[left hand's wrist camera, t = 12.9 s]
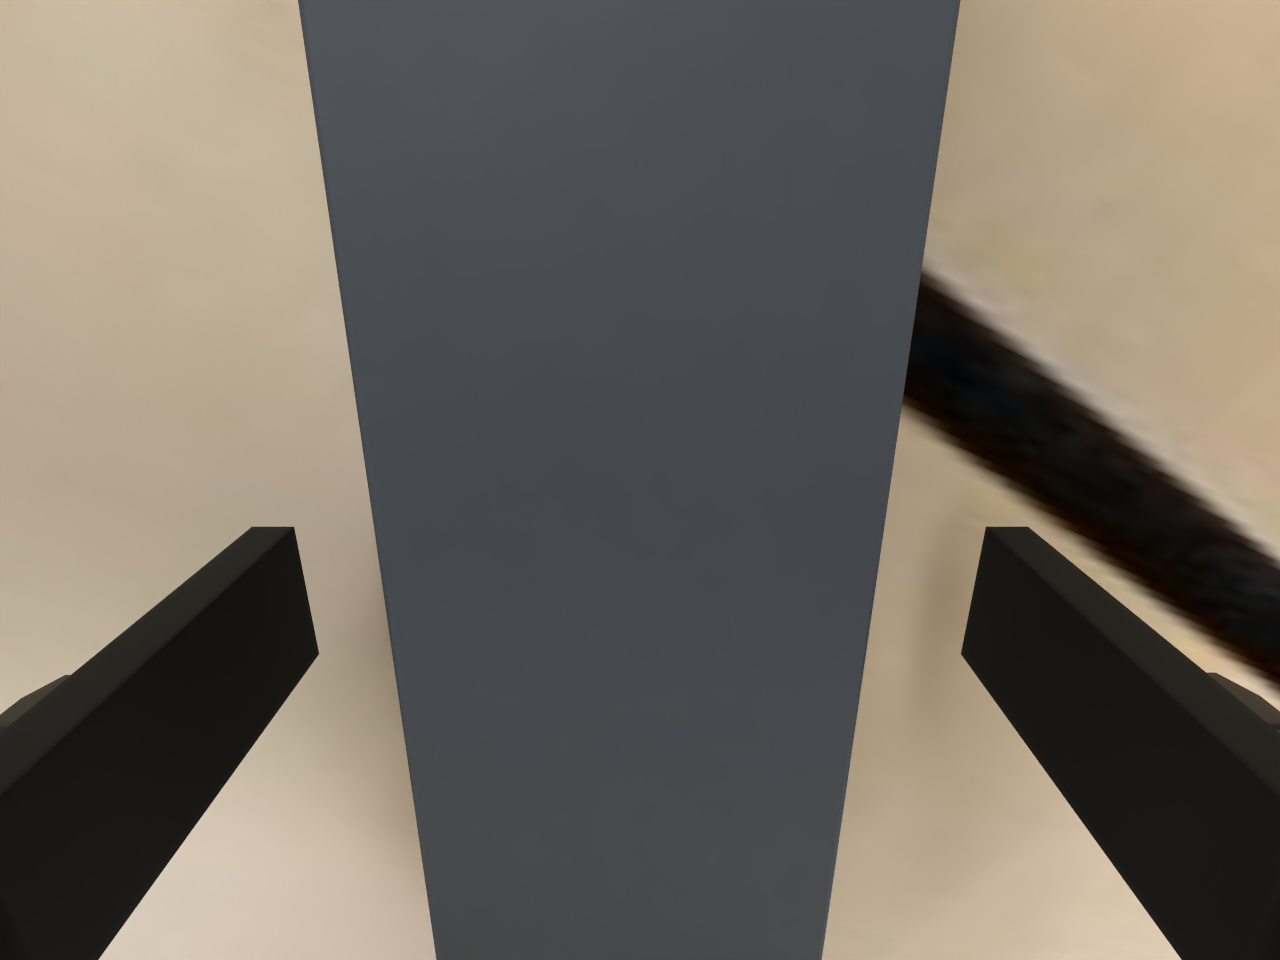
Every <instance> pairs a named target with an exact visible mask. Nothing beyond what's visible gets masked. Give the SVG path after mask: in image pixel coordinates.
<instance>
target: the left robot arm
mask: <svg viewBox="0 0 1280 960" xmlns="http://www.w3.org/2000/svg"><path fill="white" fill-rule="evenodd" d="M318 655H319V652H318V647H317V642H316V636H315V631H314V626H313V621H312V616H311V611H310V606H309V601H308V596H307V591H306V586H305V581H304V575H303V570H302V565H301V560H300V555H299V550H298V545H297V540H296V535H295V530H294V527H251V528H250V529H249V530H248V531H246V532H245V533H244V534H243V535H242V536H240V537H239V538H238V539H237V540H235V541H234V542H233V543H232V544H231V545H229V546H228V547H227V548H226V549H224V550H223V551H222V552H221V553H220V554H218V555H217V556H216V557H215V558H213V559H212V560H211V561H210V562H209V563H207V564H206V565H205V566H204V567H202V568H201V569H200V570H199V571H198V572H196V573H195V574H194V575H193V576H191V577H190V578H189V579H188V580H187V581H185V582H184V583H183V584H182V585H180V586H179V587H178V588H177V589H176V590H174V591H173V592H172V593H171V594H169V595H168V596H167V597H166V598H165V599H163V600H162V601H161V602H160V603H158V604H157V605H156V606H155V607H154V608H152V609H151V610H150V611H149V612H147V613H146V614H145V615H144V616H143V617H141V618H140V619H139V620H138V621H136V622H135V623H134V624H133V625H132V626H130V627H129V628H128V629H127V630H125V631H124V632H123V633H122V634H121V635H119V636H118V637H117V638H116V639H114V640H113V641H112V642H111V643H110V644H108V645H107V646H106V647H105V648H103V649H102V650H101V651H100V652H99V653H97V654H96V655H95V656H94V657H92V658H91V659H90V660H89V661H88V662H86V663H85V664H84V665H83V666H81V667H80V668H79V669H78V670H77V671H75V672H74V673H73V674H72V675H64V676H63V677H61V678H59V679H57V680H55V681H53V682H51V683H49V684H48V685H46V686H44V687H42V688H40V689H38V690H36V691H34V692H33V693H31V694H29V695H27V696H25V697H23V698H21V699H20V700H19V701H17V702H16V703H15V704H13V705H12V706H11V707H10V708H8V709H7V710H6V711H5V712H3V713H2V714H1V715H0V960H98V959H99V958H100V957H101V955H102V954H103V952H104V951H105V950H106V948H107V947H108V945H109V944H110V943H111V941H112V940H113V939H114V937H115V936H116V934H117V933H118V932H119V930H120V929H121V927H122V926H123V925H124V923H125V922H126V921H127V919H128V918H129V916H130V915H131V914H132V912H133V911H134V909H135V908H136V907H137V905H138V904H139V903H140V901H141V900H142V898H143V897H144V896H145V894H146V893H147V891H148V890H149V889H150V887H151V886H152V885H153V883H154V882H155V880H156V879H157V878H158V876H159V875H160V873H161V872H162V871H163V869H164V868H165V867H166V865H167V864H168V862H169V861H170V860H171V858H172V857H173V855H174V854H175V853H176V851H177V850H178V849H179V847H180V846H181V844H182V843H183V842H184V840H185V839H186V837H187V836H188V835H189V833H190V832H191V831H192V829H193V828H194V826H195V825H196V824H197V822H198V821H199V819H200V818H201V817H202V815H203V814H204V813H205V811H206V810H207V808H208V807H209V806H210V804H211V803H212V801H213V800H214V799H215V797H216V796H217V795H218V793H219V792H220V790H221V789H222V788H223V786H224V785H225V783H226V782H227V781H228V779H229V778H230V777H231V775H232V774H233V772H234V771H235V770H236V768H237V767H238V765H239V764H240V763H241V761H242V760H243V759H244V757H245V756H246V754H247V753H248V752H249V750H250V749H251V747H252V746H253V745H254V743H255V742H256V741H257V739H258V738H259V736H260V735H261V734H262V732H263V731H264V729H265V728H266V727H267V725H268V724H269V722H270V721H271V720H272V718H273V717H274V716H275V714H276V713H277V711H278V710H279V709H280V707H281V706H282V704H283V703H284V702H285V700H286V699H287V698H288V696H289V695H290V693H291V692H292V691H293V689H294V688H295V686H296V685H297V684H298V682H299V681H300V680H301V678H302V677H303V675H304V674H305V673H306V671H307V670H308V668H309V667H310V666H311V664H312V663H313V662H314V660H315V659H316V657H317V656H318ZM961 655H962V656H963V657H964V659H965V660H966V662H967V663H968V664H969V666H970V667H971V669H972V670H973V671H974V673H975V674H976V675H977V677H978V678H979V680H980V681H981V682H982V684H983V685H984V687H985V688H986V689H987V691H988V692H989V693H990V695H991V696H992V698H993V699H994V700H995V702H996V703H997V705H998V706H999V707H1000V709H1001V710H1002V711H1003V713H1004V714H1005V716H1006V717H1007V718H1008V720H1009V721H1010V723H1011V724H1012V725H1013V727H1014V728H1015V729H1016V731H1017V732H1018V734H1019V735H1020V736H1021V738H1022V739H1023V741H1024V742H1025V743H1026V745H1027V746H1028V747H1029V749H1030V750H1031V752H1032V753H1033V754H1034V756H1035V757H1036V759H1037V760H1038V761H1039V763H1040V764H1041V765H1042V767H1043V768H1044V770H1045V771H1046V772H1047V774H1048V775H1049V777H1050V778H1051V779H1052V781H1053V782H1054V783H1055V785H1056V786H1057V788H1058V789H1059V790H1060V792H1061V793H1062V795H1063V796H1064V797H1065V799H1066V800H1067V801H1068V803H1069V804H1070V806H1071V807H1072V808H1073V810H1074V811H1075V813H1076V814H1077V815H1078V817H1079V818H1080V819H1081V821H1082V822H1083V824H1084V825H1085V826H1086V828H1087V829H1088V831H1089V832H1090V833H1091V835H1092V836H1093V837H1094V839H1095V840H1096V842H1097V843H1098V844H1099V846H1100V847H1101V849H1102V850H1103V851H1104V853H1105V854H1106V855H1107V857H1108V858H1109V860H1110V861H1111V862H1112V864H1113V865H1114V867H1115V868H1116V869H1117V871H1118V872H1119V873H1120V875H1121V876H1122V878H1123V879H1124V880H1125V882H1126V883H1127V885H1128V886H1129V887H1130V889H1131V890H1132V891H1133V893H1134V894H1135V896H1136V897H1137V898H1138V900H1139V901H1140V903H1141V904H1142V905H1143V907H1144V908H1145V909H1146V911H1147V912H1148V914H1149V915H1150V916H1151V918H1152V919H1153V921H1154V922H1155V923H1156V925H1157V926H1158V927H1159V929H1160V930H1161V932H1162V933H1163V934H1164V936H1165V937H1166V939H1167V940H1168V941H1169V943H1170V944H1171V946H1172V947H1173V948H1174V950H1175V951H1176V952H1177V954H1178V955H1179V957H1180V958H1181V959H1182V960H1280V711H1278V710H1277V709H1276V708H1275V707H1273V706H1272V705H1271V704H1269V703H1268V702H1267V701H1266V700H1264V699H1263V698H1262V697H1261V696H1259V695H1257V694H1255V693H1253V692H1251V691H1249V690H1247V689H1246V688H1244V687H1242V686H1240V685H1238V684H1236V683H1234V682H1232V681H1230V680H1229V679H1227V678H1225V677H1223V676H1221V675H1219V674H1217V673H1206V672H1205V671H1203V670H1202V669H1201V668H1200V667H1199V666H1197V665H1196V664H1195V663H1194V662H1192V661H1191V660H1190V659H1189V658H1188V657H1186V656H1185V655H1184V654H1183V653H1181V652H1180V651H1179V650H1178V649H1177V648H1175V647H1174V646H1173V645H1172V644H1170V643H1169V642H1168V641H1167V640H1166V639H1164V638H1163V637H1162V636H1161V635H1159V634H1158V633H1157V632H1156V631H1155V630H1153V629H1152V628H1151V627H1150V626H1148V625H1147V624H1146V623H1145V622H1144V621H1142V620H1141V619H1140V618H1139V617H1137V616H1136V615H1135V614H1134V613H1133V612H1131V611H1130V610H1129V609H1128V608H1126V607H1125V606H1124V605H1123V604H1122V603H1120V602H1119V601H1118V600H1117V599H1115V598H1114V597H1113V596H1112V595H1111V594H1109V593H1108V592H1107V591H1106V590H1104V589H1103V588H1102V587H1101V586H1100V585H1098V584H1097V583H1096V582H1095V581H1093V580H1092V579H1091V578H1090V577H1089V576H1087V575H1086V574H1085V573H1084V572H1082V571H1081V570H1080V569H1079V568H1078V567H1076V566H1075V565H1074V564H1073V563H1071V562H1070V561H1069V560H1068V559H1067V558H1065V557H1064V556H1063V555H1062V554H1060V553H1059V552H1058V551H1057V550H1056V549H1054V548H1053V547H1052V546H1051V545H1049V544H1048V543H1047V542H1046V541H1045V540H1043V539H1042V538H1041V537H1040V536H1038V535H1037V534H1036V533H1035V532H1034V531H1032V530H1031V529H1030V528H1029V527H986V530H985V535H984V540H983V545H982V550H981V555H980V560H979V565H978V570H977V575H976V580H975V586H974V591H973V596H972V601H971V606H970V611H969V616H968V621H967V626H966V631H965V636H964V641H963V647H962V652H961Z"/></svg>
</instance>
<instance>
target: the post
mask: <svg viewBox="0 0 1280 960" xmlns="http://www.w3.org/2000/svg"><path fill="white" fill-rule="evenodd" d="M298 3H299V10H300V17H301V24H302V31H303V37H304V44H305V51H306V58H307V65H308V72H309V79H310V86H311V93H312V100H313V107H314V114H315V121H316V127H317V134H318V141H319V148H320V155H321V162H322V169H323V176H324V183H325V190H326V197H327V204H328V211H329V218H330V224H331V231H332V238H333V245H334V252H335V259H336V266H337V273H338V280H339V287H340V294H341V301H342V308H343V314H344V321H345V328H346V335H347V342H348V349H349V356H350V363H351V370H352V377H353V384H354V391H355V398H356V405H357V411H358V418H359V425H360V432H361V439H362V446H363V453H364V460H365V467H366V474H367V481H368V488H369V495H370V502H371V508H372V515H373V522H374V529H375V536H376V543H377V550H378V557H379V564H380V571H381V578H382V585H383V592H384V598H385V605H386V612H387V619H388V626H389V633H390V640H391V647H392V654H393V661H394V668H395V675H396V682H397V689H398V695H399V702H400V709H401V716H402V723H403V730H404V737H405V744H406V751H407V758H408V765H409V772H410V779H411V785H412V792H413V799H414V806H415V813H416V820H417V827H418V834H419V841H420V848H421V855H422V862H423V869H424V876H425V882H426V889H427V896H428V903H429V910H430V917H431V924H432V931H433V938H434V945H435V952H436V959H437V960H822V953H823V946H824V939H825V932H826V925H827V918H828V911H829V904H830V897H831V890H832V884H833V877H834V870H835V863H836V856H837V849H838V842H839V835H840V828H841V821H842V814H843V808H844V801H845V794H846V787H847V780H848V773H849V766H850V759H851V752H852V745H853V738H854V731H855V725H856V718H857V711H858V704H859V697H860V690H861V683H862V676H863V669H864V662H865V655H866V649H867V642H868V635H869V628H870V621H871V614H872V607H873V600H874V593H875V586H876V579H877V572H878V566H879V559H880V552H881V545H882V538H883V531H884V524H885V517H886V510H887V503H888V496H889V490H890V483H891V476H892V469H893V462H894V455H895V448H896V441H897V434H898V427H899V420H900V413H901V407H902V400H903V393H904V386H905V379H906V372H907V365H908V358H909V351H910V344H911V337H912V331H913V324H914V317H915V310H916V303H917V296H918V289H919V282H920V275H921V268H922V261H923V255H924V248H925V241H926V234H927V227H928V220H929V213H930V206H931V199H932V192H933V185H934V178H935V172H936V165H937V158H938V151H939V144H940V137H941V130H942V123H943V116H944V109H945V102H946V96H947V89H948V82H949V75H950V68H951V61H952V54H953V47H954V40H955V33H956V26H957V19H958V13H959V6H960V0H298Z"/></svg>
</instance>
